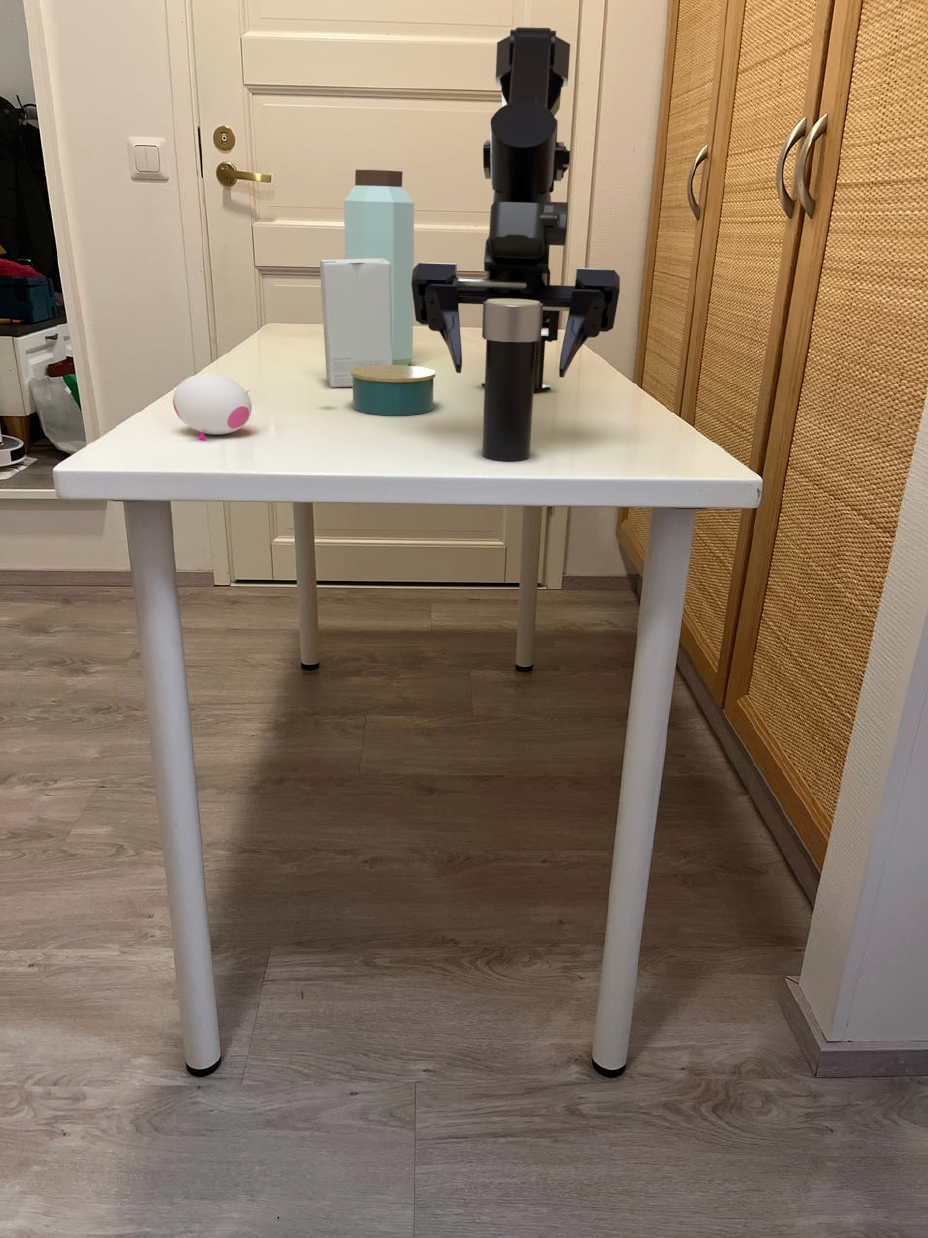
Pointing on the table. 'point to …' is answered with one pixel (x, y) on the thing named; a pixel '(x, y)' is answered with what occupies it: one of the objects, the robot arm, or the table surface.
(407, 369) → the tin
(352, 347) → the cosmetic box
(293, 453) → the table surface
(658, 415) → the table surface
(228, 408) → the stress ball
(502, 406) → the torch
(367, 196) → the water bottle
